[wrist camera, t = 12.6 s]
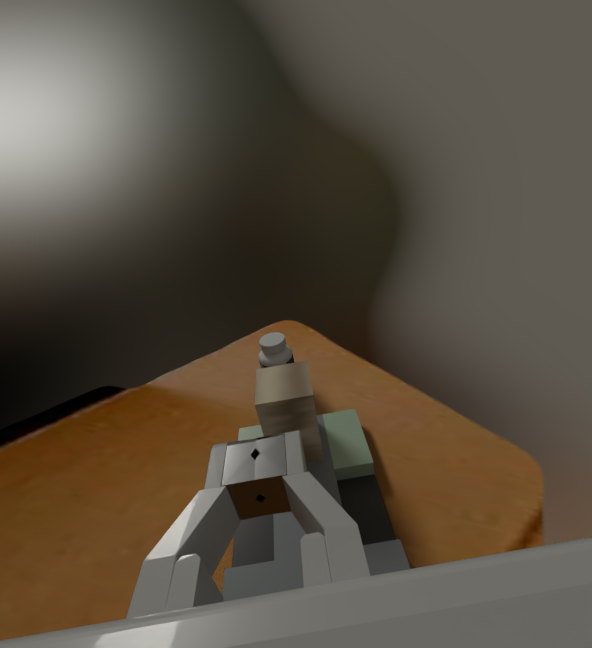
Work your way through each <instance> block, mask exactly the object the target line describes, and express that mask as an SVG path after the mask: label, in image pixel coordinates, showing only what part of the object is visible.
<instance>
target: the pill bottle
mask: <svg viewBox="0 0 592 648" xmlns="http://www.w3.org/2000/svg"><path fill="white" fill-rule="evenodd" d="M259 343H260V347H261V351H260V353H259V362H260V366H261V368H267V367H273V366H279V365H285V364H290V363H294V359H293V354H292V350H291V348H290V347H289V346H288V345H286V340H285V336H284V335H283V334H282V333H277V332H275V333H269V334H266V335H264V336H263V337H262V338H261V339H260V341H259Z"/></svg>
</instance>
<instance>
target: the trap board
mask: <svg viewBox="0 0 592 648" xmlns="http://www.w3.org/2000/svg"><path fill="white" fill-rule="evenodd" d="M317 421H318V427H319V433H320V439H321V445H322V452H323V458H324V460H320V461H314V462H308V463H306V466H307V472H310V473H311V474H312V475H313V476H314V477H315V479H316V480H317V481H318V482H319V483H320V484H321V485H322V486H323V487H324V488H325V489H326V491H327V492H328V493H329V494H330V495H331V496H332V497H333V498H334V499H335V500H336V502H337V503H338V504H339V505H340V506H341V507H342V508H343V509H344V510H345V511H346V512H347V514H348V515H349V516H350V517H351V518H352V519H353V520H354V521H355V522H356V523H357V524H358V529H359V533H360V537H361V541H362V545H363V549H364V553H365V557H366V561H367V565H368V569H369V573H370V576H373V575H379V574H384V573H390V572H396V571H401V570H407V569H410V566H409V563H408V560H407V557H406V554H405V551H404V548H403V546H402V543H401V540H400V539H397V540H396V538H395V535H394V532H393V529H392V526H391V523H390V520H389V517H388V514H387V511H386V508H385V505H384V502H383V499H382V496H381V493H380V490H379V487H378V484H377V481H376V478H375V475H374V462H373V459H372V456H371V453H370V450H369V448H368V445H367V442H366V439H365V436H364V433H363V430H362V427H361V424H360V422H359V419H358V416H357V413H356V410H355V409H350V410H344V411H339V412H333V413H327V414H321V415H317ZM259 437H264V435H263V432H262V428H261V425H257V426H251V427H245V428H240V429H239V437H238V441H241V440H248V439H255V438H259ZM240 522H241V523H240V524H239V526H238V528H237V530H236V532H235V536H234V548H233V560H232V568H228V569H225V573H224V583H223V593H222V596H223V598H224V599H223V602H224V601H230V600H236V599H241V598H247V597H253V596H258V595H264V594H270V593H276V592H281V591H287V590H293V589H298V588H304V583H303V570H302V556H301V543H300V540H301V539H302V537H303V536H304V535H306V533H305V531H304V530H303V528H302V527H301V525H300V524H299V522H298V521H297V519H296V518H295V516H294V515H293V514H292V511H291V512H284V513H277V514H271V515H264V516H259V517H255V518H250V519H245V520H240Z"/></svg>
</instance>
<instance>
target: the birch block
mask: <svg viewBox="0 0 592 648" xmlns="http://www.w3.org/2000/svg"><path fill="white" fill-rule="evenodd" d="M255 407H256V411H257V414H258V418H259V421H260V425H261V428H262V432H263V435H264V436H269V435H275V434H280V433H286V432H292V431H298V430H299V431H300V435H301V440H302V445H303V450H304V455H305V461H306V463H308V462H314V461H320V460H324V458H323V452H322V445H321V439H320V433H319V427H318V421H317V414H316V408H315V402H314V396H313V391H312V385H311V380H310V375H309V370H308V365H307V361H302V362H296V363H290V364H285V365H279V366H273V367H267V368H261V369H257V372H256V392H255Z"/></svg>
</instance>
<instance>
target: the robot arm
mask: <svg viewBox="0 0 592 648" xmlns="http://www.w3.org/2000/svg"><path fill="white" fill-rule="evenodd" d="M291 511H292V514H293V515H294V516H295V518H296V519H297V521H298V522H299V524H300V525H301V527H302V528H303V530H304V531H305V533H306V535H304V536H303V537H302V539H301V540H300V543H301V556H302V570H303V583H304V588H298V589H293V590H287V591H281V592H276V593H270V594H264V595H258V596H253V597H247V598H241V599H236V600H230V601H224V602H223V599H224V598H223V596H222V595H221V593H220V591H219V589H218V588H217V586H216V584H215V582H214V581H213V579H212V576H213V574H214V572H215V570H216V568H217V566H218V564H219V562H220V560H221V559H222V557H223V555H224V553H225V551H226V549H227V547H228V545H229V543H230V541H231V540H232V538H233V536H234V534H235V532H236V530H237V528H238V526H239V524H240V523H241V522H240V520H245V519H250V518H255V517H259V516H264V515H271V514H277V513H284V512H291ZM0 648H592V537H590V538H584V539H579V540H573V541H567V542H562V543H556V544H550V545H544V546H539V547H533V548H527V549H522V550H516V551H510V552H504V553H499V554H493V555H487V556H481V557H476V558H470V559H464V560H459V561H453V562H447V563H441V564H436V565H430V566H424V567H419V568H413V569H407V570H401V571H396V572H390V573H384V574H379V575H373V576H370V573H369V569H368V565H367V561H366V557H365V553H364V549H363V545H362V541H361V537H360V533H359V529H358V524H357V523H356V522H355V521H354V520H353V519H352V518H351V517H350V516H349V515H348V514H347V512H346V511H345V510H344V509H343V508H342V507H341V506H340V505H339V504H338V503H337V502H336V500H335V499H334V498H333V497H332V496H331V495H330V494H329V493H328V492H327V491H326V489H325V488H324V487H323V486H322V485H321V484H320V483H319V482H318V481H317V480H316V479H315V477H314V476H313V475H312V474H311V473H310V472H307V466H306V461H305V455H304V450H303V445H302V440H301V435H300V431H299V430H298V431H292V432H286V433H280V434H275V435H269V436H264V437H259V438H255V439H248V440H241V441H234V442H228V443H222V444H216V445H214V446H213V447H212V449H211V455H210V460H209V465H208V471H207V476H206V481H205V487H204V490H199V492H198V493H197V494H196V496H195V497H194V498H193V499H192V501H191V502H190V503H189V504H188V506H187V507H186V508H185V509H184V511H183V512H182V513H181V514H180V516H179V517H178V518H177V520H176V521H175V522H174V523H173V525H172V526H171V527H170V528H169V530H168V531H167V532H166V533H165V535H164V536H163V537H162V538H161V540H160V541H159V542H158V543H157V545H156V546H155V547H154V549H153V550H152V551H151V552H150V554H149V555H148V556H147V557H146V559H145V560H144V561H143V565H142V568H141V571H140V575H139V578H138V581H137V584H136V588H135V591H134V594H133V598H132V601H131V604H130V607H129V611H128V614H127V617H126V619H122V620H116V621H110V622H105V623H99V624H93V625H88V626H82V627H76V628H71V629H65V630H59V631H53V632H48V633H42V634H36V635H31V636H25V637H19V638H13V639H8V640H2V641H0Z"/></svg>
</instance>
